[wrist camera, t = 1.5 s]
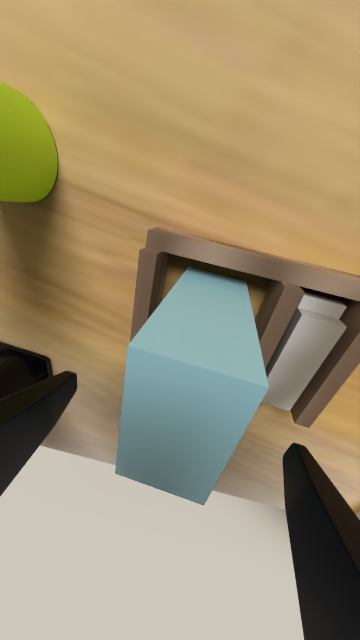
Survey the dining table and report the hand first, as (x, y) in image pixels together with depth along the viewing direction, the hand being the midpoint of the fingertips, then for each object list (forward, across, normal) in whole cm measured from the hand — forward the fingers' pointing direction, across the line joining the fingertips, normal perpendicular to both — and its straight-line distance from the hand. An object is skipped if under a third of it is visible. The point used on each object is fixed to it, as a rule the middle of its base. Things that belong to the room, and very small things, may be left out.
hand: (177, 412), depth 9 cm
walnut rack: (+9, -2, 0) cm, 9 cm away
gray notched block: (+9, -6, 0) cm, 11 cm away
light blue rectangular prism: (+9, 0, 0) cm, 9 cm away
